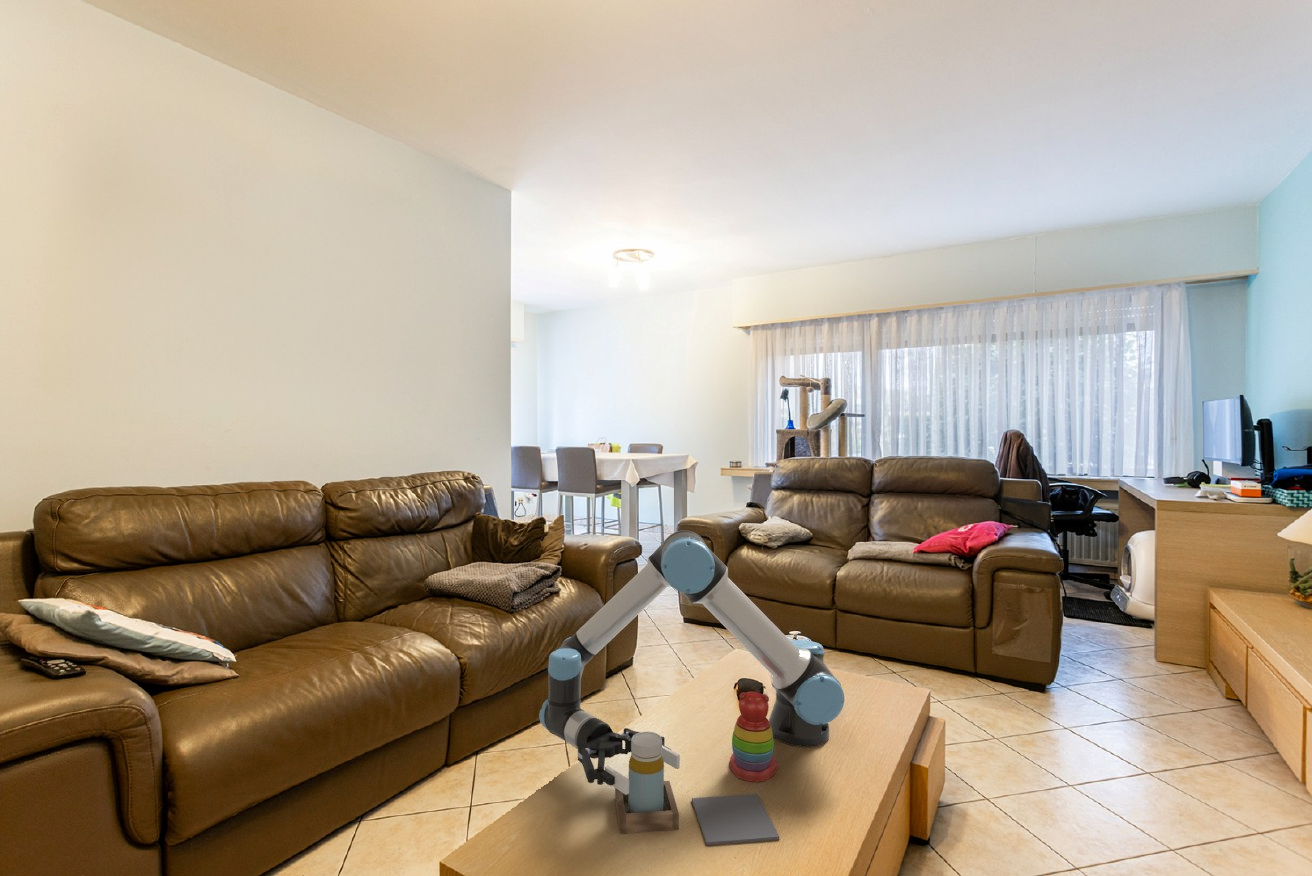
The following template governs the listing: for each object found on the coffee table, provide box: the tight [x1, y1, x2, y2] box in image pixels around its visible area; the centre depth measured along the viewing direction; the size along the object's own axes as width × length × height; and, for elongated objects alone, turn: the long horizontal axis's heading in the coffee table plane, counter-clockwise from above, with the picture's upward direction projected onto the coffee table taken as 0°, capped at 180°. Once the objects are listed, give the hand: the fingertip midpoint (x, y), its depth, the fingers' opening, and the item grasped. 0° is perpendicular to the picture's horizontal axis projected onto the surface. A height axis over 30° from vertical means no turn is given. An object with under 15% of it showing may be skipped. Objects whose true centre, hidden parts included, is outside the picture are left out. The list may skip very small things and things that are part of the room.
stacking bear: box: [729, 691, 778, 783], centre depth 142 cm, size 11×10×18 cm
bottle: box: [627, 731, 665, 813], centre depth 125 cm, size 7×7×15 cm
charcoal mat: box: [691, 793, 780, 846], centre depth 124 cm, size 14×14×1 cm
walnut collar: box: [614, 780, 680, 835], centre depth 125 cm, size 11×11×3 cm
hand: (654, 774), depth 123 cm, fingers open, 13 cm apart
